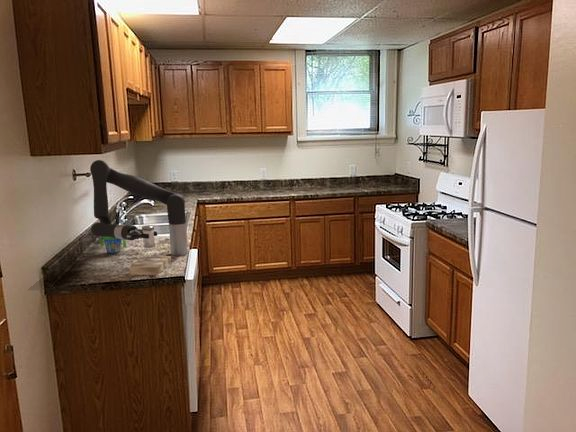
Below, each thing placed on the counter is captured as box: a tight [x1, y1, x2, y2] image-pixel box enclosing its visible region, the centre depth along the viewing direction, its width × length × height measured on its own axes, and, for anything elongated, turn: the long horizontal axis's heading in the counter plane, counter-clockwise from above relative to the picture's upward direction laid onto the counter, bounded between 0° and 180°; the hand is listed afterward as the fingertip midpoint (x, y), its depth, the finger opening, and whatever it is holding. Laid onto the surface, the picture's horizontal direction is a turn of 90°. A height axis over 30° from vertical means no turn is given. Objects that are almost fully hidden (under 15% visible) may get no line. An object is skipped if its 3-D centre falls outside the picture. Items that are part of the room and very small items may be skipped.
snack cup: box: [100, 237, 127, 254], centre depth 260 cm, size 16×10×10 cm
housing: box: [141, 224, 156, 249], centre depth 224 cm, size 6×6×10 cm
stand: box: [129, 255, 172, 276], centre depth 226 cm, size 18×14×4 cm
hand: (152, 235), depth 222 cm, fingers closed on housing, 5 cm apart
